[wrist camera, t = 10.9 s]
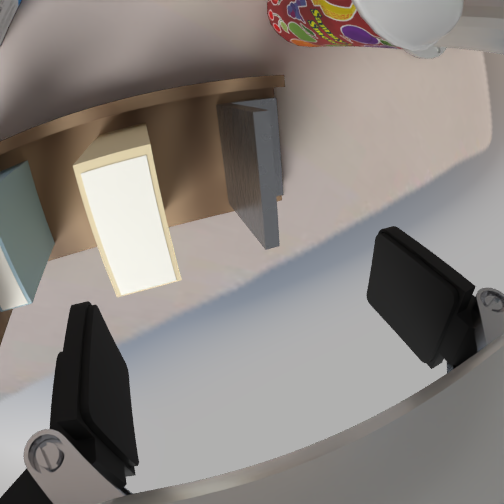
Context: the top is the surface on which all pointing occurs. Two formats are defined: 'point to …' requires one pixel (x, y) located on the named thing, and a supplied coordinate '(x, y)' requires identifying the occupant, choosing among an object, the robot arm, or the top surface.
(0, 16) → the ink box
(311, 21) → the smoothie
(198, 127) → the shelf
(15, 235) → the teal book
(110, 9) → the top surface
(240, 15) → the top surface
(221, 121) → the bookend
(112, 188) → the tan book
